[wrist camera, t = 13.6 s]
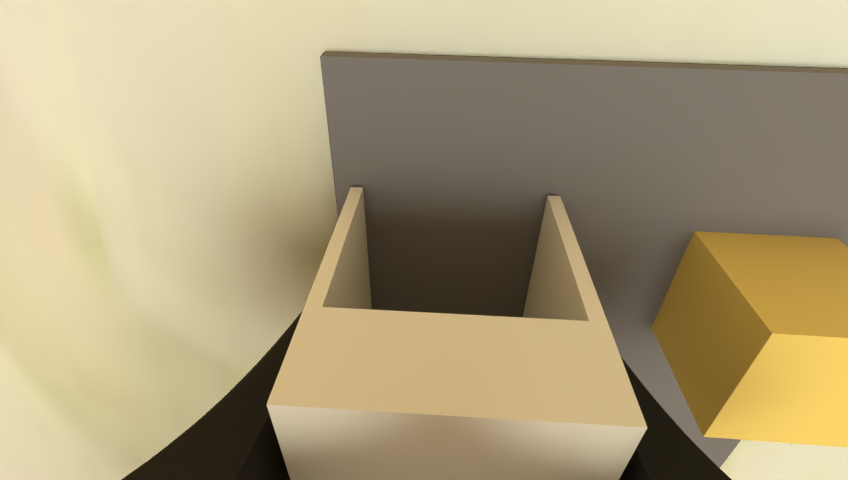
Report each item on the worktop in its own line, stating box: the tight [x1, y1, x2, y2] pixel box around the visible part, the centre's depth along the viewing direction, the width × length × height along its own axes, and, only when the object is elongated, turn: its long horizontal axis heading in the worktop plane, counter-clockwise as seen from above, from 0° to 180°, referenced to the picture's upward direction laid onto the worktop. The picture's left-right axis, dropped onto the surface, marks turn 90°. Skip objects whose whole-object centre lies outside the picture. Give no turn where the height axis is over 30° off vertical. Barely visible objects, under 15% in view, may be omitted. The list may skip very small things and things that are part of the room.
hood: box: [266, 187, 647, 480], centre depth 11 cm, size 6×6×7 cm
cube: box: [652, 231, 848, 447], centre depth 12 cm, size 4×4×4 cm
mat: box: [320, 52, 848, 468], centre depth 17 cm, size 16×20×1 cm
